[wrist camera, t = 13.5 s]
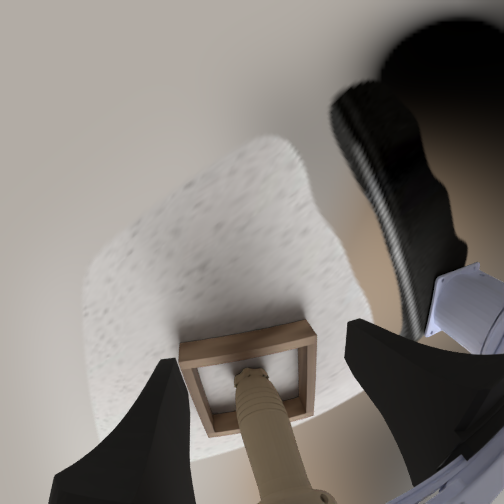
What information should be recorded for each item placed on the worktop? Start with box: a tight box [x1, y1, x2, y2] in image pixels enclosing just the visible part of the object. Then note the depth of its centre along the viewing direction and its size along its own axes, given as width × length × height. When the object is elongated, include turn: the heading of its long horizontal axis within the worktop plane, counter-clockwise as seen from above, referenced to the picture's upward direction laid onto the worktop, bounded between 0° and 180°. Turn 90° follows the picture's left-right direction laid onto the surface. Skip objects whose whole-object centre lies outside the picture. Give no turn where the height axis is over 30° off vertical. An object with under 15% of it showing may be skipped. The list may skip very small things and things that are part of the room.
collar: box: [179, 319, 317, 438], centre depth 22 cm, size 11×11×3 cm
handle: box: [234, 368, 337, 504], centre depth 17 cm, size 5×6×15 cm
